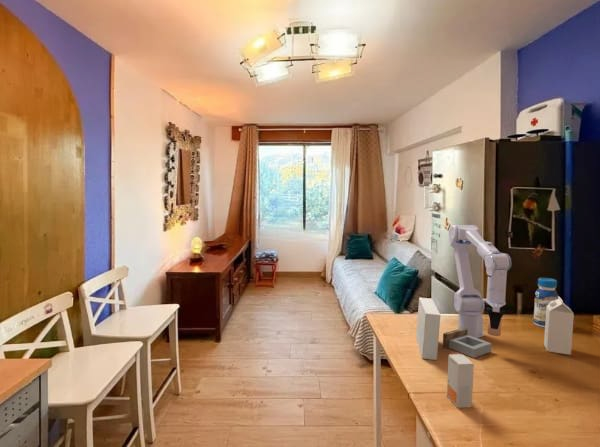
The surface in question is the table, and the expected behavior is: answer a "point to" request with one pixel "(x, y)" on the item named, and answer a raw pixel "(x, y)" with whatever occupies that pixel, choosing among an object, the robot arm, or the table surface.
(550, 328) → the milk carton
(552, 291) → the beverage bottle
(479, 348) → the socket block
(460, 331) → the walnut wall
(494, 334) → the peach egg shape
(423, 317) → the skincare box
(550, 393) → the table surface
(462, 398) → the skincare box
